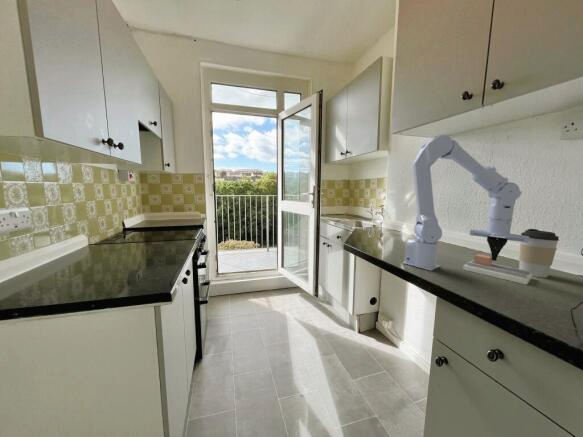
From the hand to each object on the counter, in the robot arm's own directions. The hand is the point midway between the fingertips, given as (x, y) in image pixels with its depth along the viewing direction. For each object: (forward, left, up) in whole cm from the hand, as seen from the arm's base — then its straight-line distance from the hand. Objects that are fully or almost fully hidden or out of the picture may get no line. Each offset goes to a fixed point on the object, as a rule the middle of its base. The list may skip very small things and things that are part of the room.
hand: (494, 260), depth 80 cm
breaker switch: (-3, 0, -3) cm, 4 cm away
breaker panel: (+1, 0, -5) cm, 5 cm away
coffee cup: (+9, +12, -5) cm, 15 cm away
